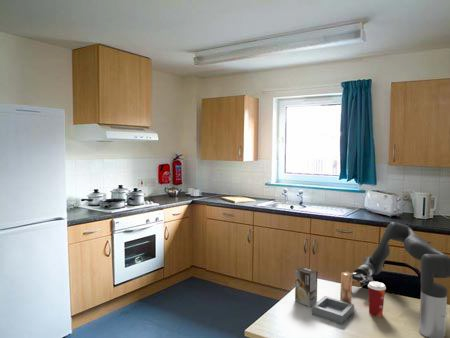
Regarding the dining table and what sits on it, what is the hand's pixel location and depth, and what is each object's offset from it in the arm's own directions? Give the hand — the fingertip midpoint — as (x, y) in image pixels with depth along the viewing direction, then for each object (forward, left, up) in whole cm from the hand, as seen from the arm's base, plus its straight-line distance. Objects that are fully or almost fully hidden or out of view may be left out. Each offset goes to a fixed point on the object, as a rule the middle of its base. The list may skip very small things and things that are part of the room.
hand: (352, 282), depth 181 cm
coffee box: (+15, +22, -8) cm, 28 cm away
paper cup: (-15, +12, -8) cm, 20 cm away
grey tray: (0, +25, -7) cm, 26 cm away
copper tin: (0, +9, -7) cm, 11 cm away
